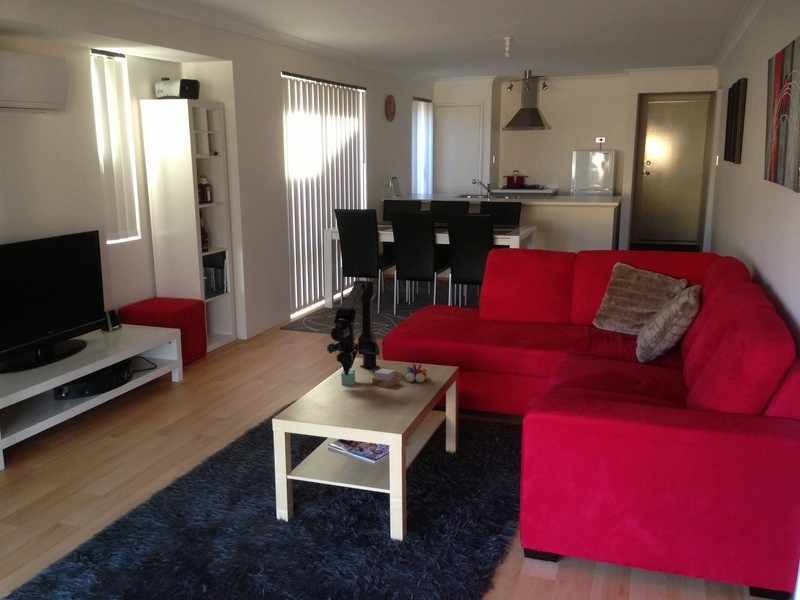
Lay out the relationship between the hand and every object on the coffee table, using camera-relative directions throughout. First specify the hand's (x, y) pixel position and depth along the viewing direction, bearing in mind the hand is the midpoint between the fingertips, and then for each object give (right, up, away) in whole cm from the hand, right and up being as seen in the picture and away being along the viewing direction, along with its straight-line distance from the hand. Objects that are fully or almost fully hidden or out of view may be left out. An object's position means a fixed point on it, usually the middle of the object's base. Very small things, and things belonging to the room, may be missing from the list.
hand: (348, 371), depth 295 cm
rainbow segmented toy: (+28, -4, +4) cm, 29 cm away
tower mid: (+15, -3, -1) cm, 16 cm away
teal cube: (0, -5, +1) cm, 5 cm away
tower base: (+16, -5, -1) cm, 17 cm away
